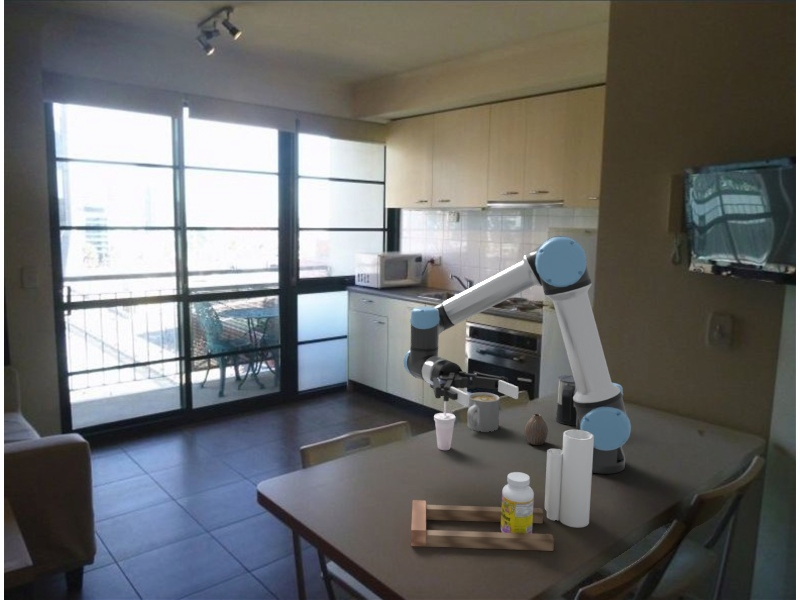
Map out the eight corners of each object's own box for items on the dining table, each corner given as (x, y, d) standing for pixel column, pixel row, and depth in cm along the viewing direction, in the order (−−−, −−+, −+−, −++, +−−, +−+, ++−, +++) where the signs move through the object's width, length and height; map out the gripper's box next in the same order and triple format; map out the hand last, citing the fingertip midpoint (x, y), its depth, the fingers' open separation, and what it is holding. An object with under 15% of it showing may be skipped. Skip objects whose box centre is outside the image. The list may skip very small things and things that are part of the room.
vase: (534, 448, 174) (535, 420, 173) (519, 440, 180) (520, 413, 179) (552, 444, 177) (553, 416, 176) (537, 437, 183) (538, 410, 182)
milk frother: (554, 415, 204) (556, 374, 202) (601, 418, 201) (603, 376, 199) (559, 430, 190) (561, 385, 188) (609, 433, 188) (612, 388, 186)
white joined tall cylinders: (594, 520, 132) (599, 435, 130) (578, 531, 128) (582, 443, 125) (551, 502, 141) (555, 421, 138) (533, 512, 136) (537, 429, 133)
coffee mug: (482, 419, 199) (483, 390, 198) (504, 427, 191) (505, 397, 190) (453, 427, 191) (454, 397, 189) (475, 436, 183) (476, 405, 182)
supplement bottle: (497, 525, 130) (499, 470, 128) (526, 524, 130) (529, 469, 128) (505, 542, 123) (507, 483, 121) (536, 540, 124) (538, 482, 122)
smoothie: (455, 444, 177) (456, 399, 175) (454, 452, 170) (456, 405, 168) (433, 443, 177) (434, 398, 175) (432, 451, 171) (433, 404, 169)
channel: (540, 518, 133) (541, 504, 132) (553, 550, 120) (554, 534, 119) (412, 514, 134) (412, 500, 133) (411, 545, 121) (411, 529, 121)
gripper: (482, 382, 156) (535, 405, 138) (399, 394, 145) (444, 420, 126) (483, 355, 155) (537, 374, 137) (399, 364, 144) (445, 386, 125)
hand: (492, 396), depth 132 cm, fingers open, 13 cm apart
